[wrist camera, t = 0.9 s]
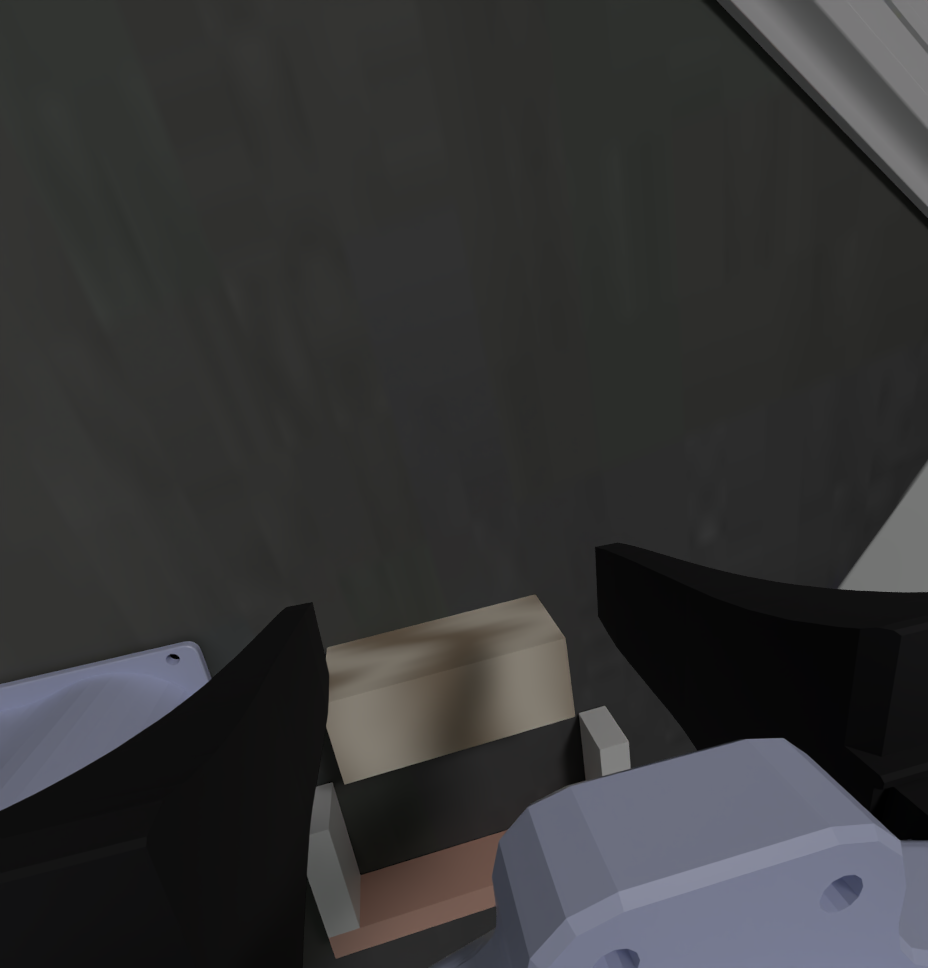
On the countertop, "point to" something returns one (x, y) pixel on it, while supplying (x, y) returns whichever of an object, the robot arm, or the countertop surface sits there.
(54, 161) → the countertop surface
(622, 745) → the block with end panels
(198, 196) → the countertop surface
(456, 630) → the slat block
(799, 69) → the baseboard molding
